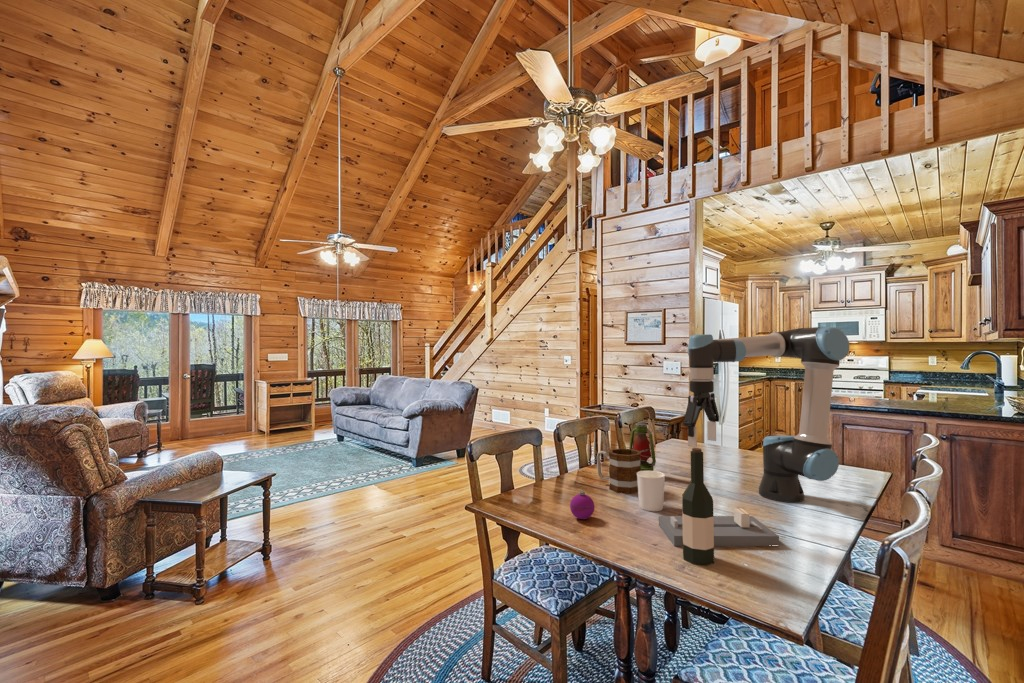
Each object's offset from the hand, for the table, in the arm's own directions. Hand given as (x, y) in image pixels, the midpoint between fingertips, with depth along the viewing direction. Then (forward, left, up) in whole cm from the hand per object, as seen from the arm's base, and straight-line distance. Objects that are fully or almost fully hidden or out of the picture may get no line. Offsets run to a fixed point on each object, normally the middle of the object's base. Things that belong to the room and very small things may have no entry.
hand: (702, 443), depth 159 cm
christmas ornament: (+41, 0, -26) cm, 48 cm away
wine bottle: (+13, +30, -26) cm, 41 cm away
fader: (-6, +14, -22) cm, 27 cm away
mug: (+22, -35, -26) cm, 48 cm away
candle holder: (+15, -11, -26) cm, 31 cm away
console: (+2, +14, -25) cm, 29 cm away
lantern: (+8, -53, -26) cm, 59 cm away
